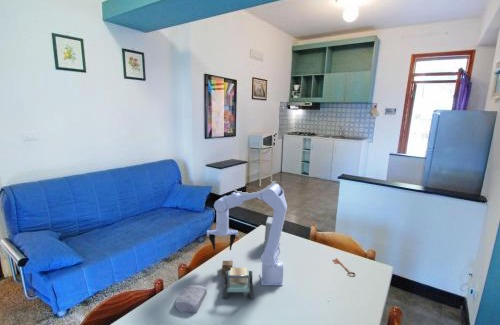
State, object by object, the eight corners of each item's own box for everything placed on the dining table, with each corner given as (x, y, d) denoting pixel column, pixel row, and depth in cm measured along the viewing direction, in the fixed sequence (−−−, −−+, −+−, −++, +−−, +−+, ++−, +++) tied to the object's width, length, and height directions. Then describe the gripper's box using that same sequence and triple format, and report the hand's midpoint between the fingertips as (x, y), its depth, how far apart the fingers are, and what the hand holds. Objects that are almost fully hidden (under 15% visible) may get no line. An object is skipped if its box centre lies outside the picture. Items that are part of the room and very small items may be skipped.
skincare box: (265, 241, 151) (266, 216, 148) (277, 242, 150) (279, 217, 146) (263, 248, 143) (264, 222, 140) (276, 250, 141) (277, 223, 138)
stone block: (174, 315, 98) (198, 314, 96) (171, 303, 97) (196, 302, 95) (186, 294, 110) (209, 293, 108) (184, 284, 109) (206, 283, 107)
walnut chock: (232, 267, 125) (232, 256, 124) (231, 276, 118) (232, 265, 117) (223, 267, 125) (223, 256, 124) (222, 276, 118) (222, 265, 117)
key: (329, 260, 134) (345, 278, 120) (329, 259, 134) (345, 277, 120) (339, 258, 135) (356, 276, 121) (339, 257, 135) (357, 274, 121)
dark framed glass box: (251, 278, 117) (252, 258, 115) (253, 300, 104) (253, 277, 102) (225, 278, 117) (225, 257, 115) (223, 300, 103) (223, 277, 101)
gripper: (238, 219, 125) (237, 244, 128) (208, 218, 125) (208, 244, 127) (237, 225, 118) (237, 252, 121) (206, 225, 118) (206, 252, 120)
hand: (222, 249), depth 124 cm, fingers open, 7 cm apart
